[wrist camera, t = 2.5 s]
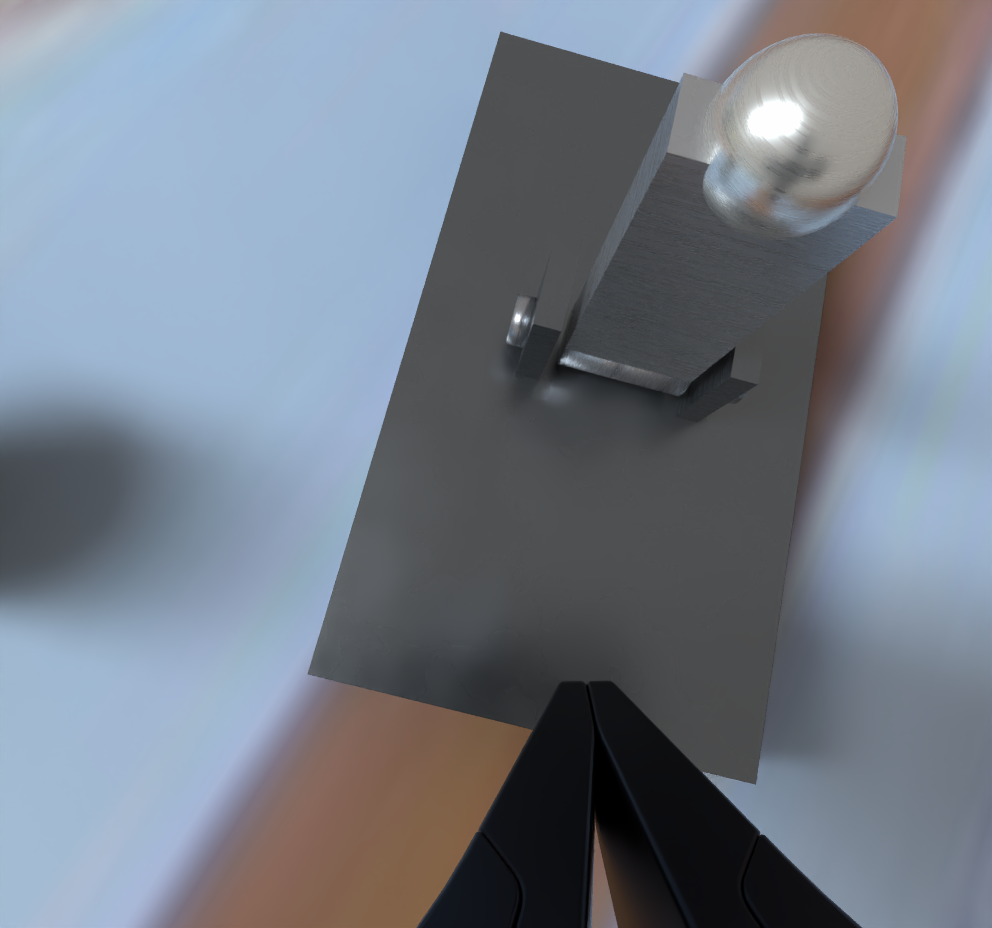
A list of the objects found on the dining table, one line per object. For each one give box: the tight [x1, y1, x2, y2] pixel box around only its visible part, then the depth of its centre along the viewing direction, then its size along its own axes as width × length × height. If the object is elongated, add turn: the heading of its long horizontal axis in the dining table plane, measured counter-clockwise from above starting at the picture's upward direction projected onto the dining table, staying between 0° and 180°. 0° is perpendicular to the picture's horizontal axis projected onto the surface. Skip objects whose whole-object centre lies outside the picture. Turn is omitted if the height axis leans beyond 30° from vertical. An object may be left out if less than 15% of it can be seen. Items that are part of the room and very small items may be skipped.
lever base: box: [308, 32, 828, 784], centre depth 20 cm, size 24×14×7 cm, turn 166°
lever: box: [558, 34, 907, 396], centre depth 14 cm, size 3×4×12 cm
